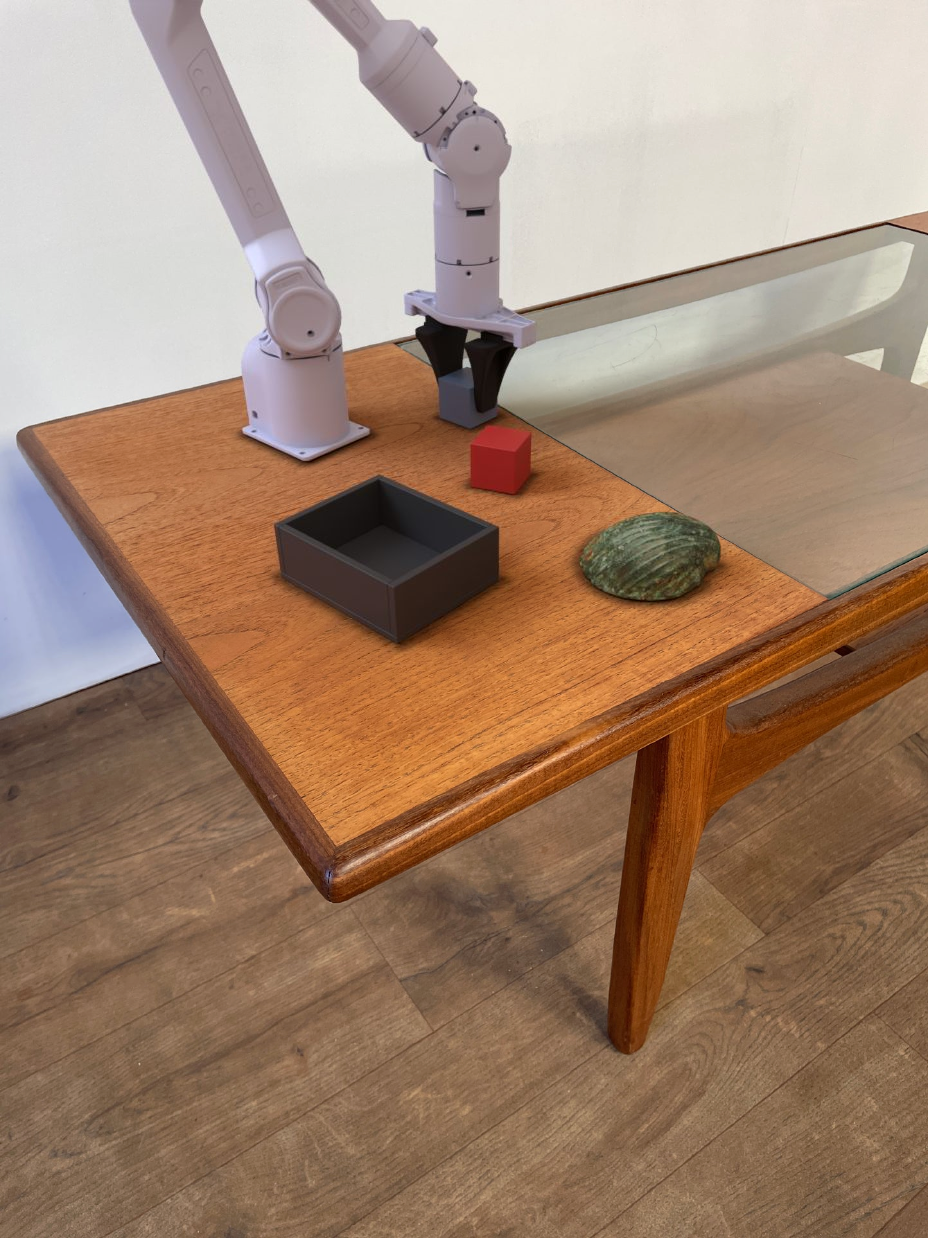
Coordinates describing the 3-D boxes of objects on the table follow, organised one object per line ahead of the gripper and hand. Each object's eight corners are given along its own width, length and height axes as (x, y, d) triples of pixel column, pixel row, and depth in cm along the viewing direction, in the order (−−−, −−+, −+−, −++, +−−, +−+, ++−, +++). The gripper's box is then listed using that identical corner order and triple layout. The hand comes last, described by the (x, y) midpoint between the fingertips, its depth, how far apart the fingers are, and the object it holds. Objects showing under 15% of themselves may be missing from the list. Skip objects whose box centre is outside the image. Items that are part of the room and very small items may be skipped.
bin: (281, 577, 70) (273, 523, 68) (382, 524, 76) (379, 473, 74) (397, 644, 63) (393, 587, 61) (499, 580, 69) (499, 526, 67)
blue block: (439, 417, 93) (438, 378, 91) (467, 405, 95) (466, 366, 93) (469, 429, 91) (469, 388, 88) (497, 416, 93) (497, 376, 91)
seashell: (590, 478, 73) (726, 490, 71) (587, 523, 76) (717, 535, 74) (576, 555, 65) (726, 571, 64) (572, 602, 68) (717, 618, 66)
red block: (470, 486, 81) (469, 443, 79) (487, 466, 84) (487, 424, 82) (514, 495, 80) (515, 451, 78) (530, 474, 83) (532, 431, 81)
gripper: (560, 261, 83) (554, 410, 90) (439, 234, 91) (442, 372, 99) (507, 280, 78) (505, 434, 86) (384, 249, 86) (393, 393, 94)
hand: (468, 403), depth 92 cm, fingers closed on blue block, 4 cm apart
